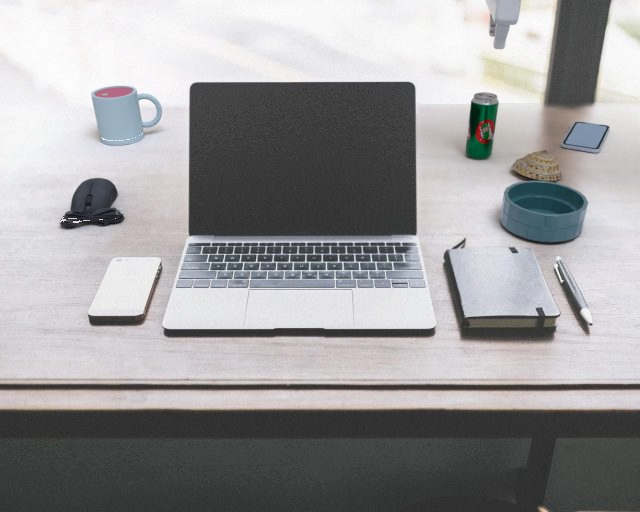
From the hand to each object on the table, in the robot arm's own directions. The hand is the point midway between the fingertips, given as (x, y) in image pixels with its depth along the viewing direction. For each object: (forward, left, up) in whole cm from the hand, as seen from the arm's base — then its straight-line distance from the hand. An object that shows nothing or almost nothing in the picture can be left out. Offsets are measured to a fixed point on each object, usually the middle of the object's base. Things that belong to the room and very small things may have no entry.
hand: (496, 41), depth 108 cm
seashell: (-10, +5, -23) cm, 25 cm away
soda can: (0, -3, -23) cm, 23 cm away
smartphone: (-22, -15, -22) cm, 35 cm away
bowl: (-8, +25, -22) cm, 34 cm away
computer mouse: (+65, +28, -23) cm, 75 cm away
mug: (+73, -5, -23) cm, 77 cm away
